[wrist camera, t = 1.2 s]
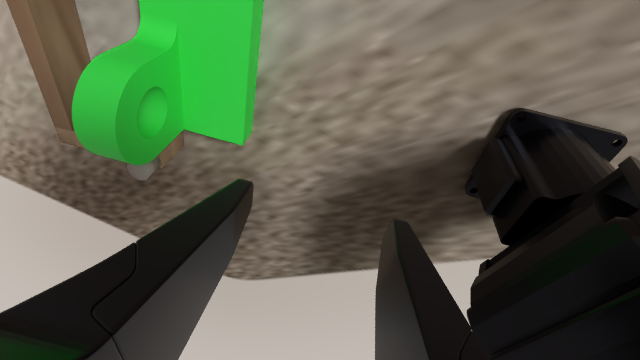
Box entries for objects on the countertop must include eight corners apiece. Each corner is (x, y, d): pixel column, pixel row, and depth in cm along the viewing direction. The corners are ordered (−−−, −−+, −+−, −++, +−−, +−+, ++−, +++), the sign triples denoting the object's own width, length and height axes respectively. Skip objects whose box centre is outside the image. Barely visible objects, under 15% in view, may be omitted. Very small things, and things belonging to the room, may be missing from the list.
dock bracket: (150, -205, 13) (65, -251, 10) (184, 146, 24) (149, 182, 21) (-17, -246, 13) (-160, -306, 10) (92, 122, 25) (42, 155, 21)
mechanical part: (252, 130, 23) (201, 207, 17) (170, 107, 23) (88, 175, 17) (272, -84, 15) (193, -91, 9) (149, -119, 15) (-15, -149, 9)
